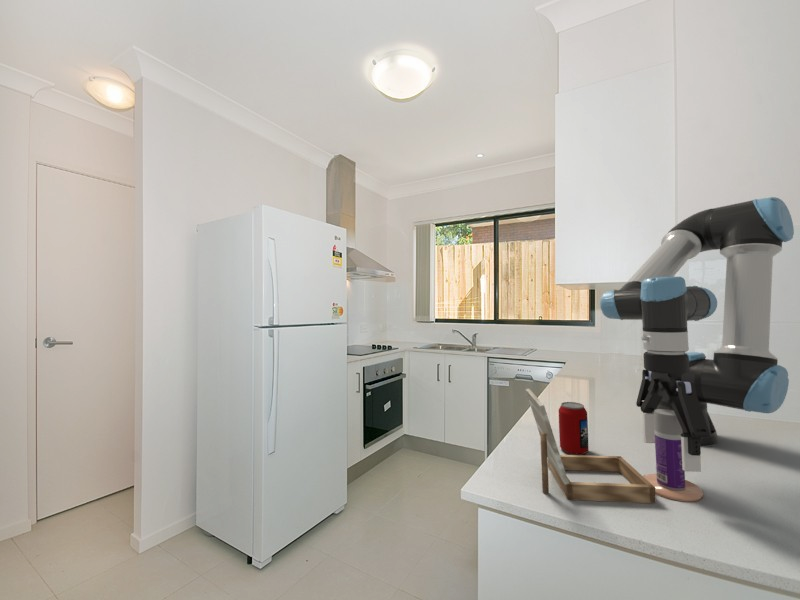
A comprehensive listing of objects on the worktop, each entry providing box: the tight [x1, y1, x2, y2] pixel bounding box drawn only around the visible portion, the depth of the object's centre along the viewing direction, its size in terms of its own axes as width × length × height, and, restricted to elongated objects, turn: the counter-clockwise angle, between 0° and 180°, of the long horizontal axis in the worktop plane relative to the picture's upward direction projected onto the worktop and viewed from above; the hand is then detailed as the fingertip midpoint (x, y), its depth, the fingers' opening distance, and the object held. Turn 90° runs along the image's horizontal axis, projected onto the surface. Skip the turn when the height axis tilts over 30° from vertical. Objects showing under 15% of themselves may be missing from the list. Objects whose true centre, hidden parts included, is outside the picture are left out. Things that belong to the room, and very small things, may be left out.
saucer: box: [642, 473, 704, 503], centre depth 73 cm, size 10×10×1 cm
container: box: [654, 409, 686, 491], centre depth 74 cm, size 5×5×15 cm
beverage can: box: [558, 401, 589, 455], centre depth 93 cm, size 7×7×12 cm
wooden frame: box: [525, 388, 657, 504], centre depth 77 cm, size 20×14×19 cm
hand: (669, 455), depth 74 cm, fingers open, 13 cm apart
